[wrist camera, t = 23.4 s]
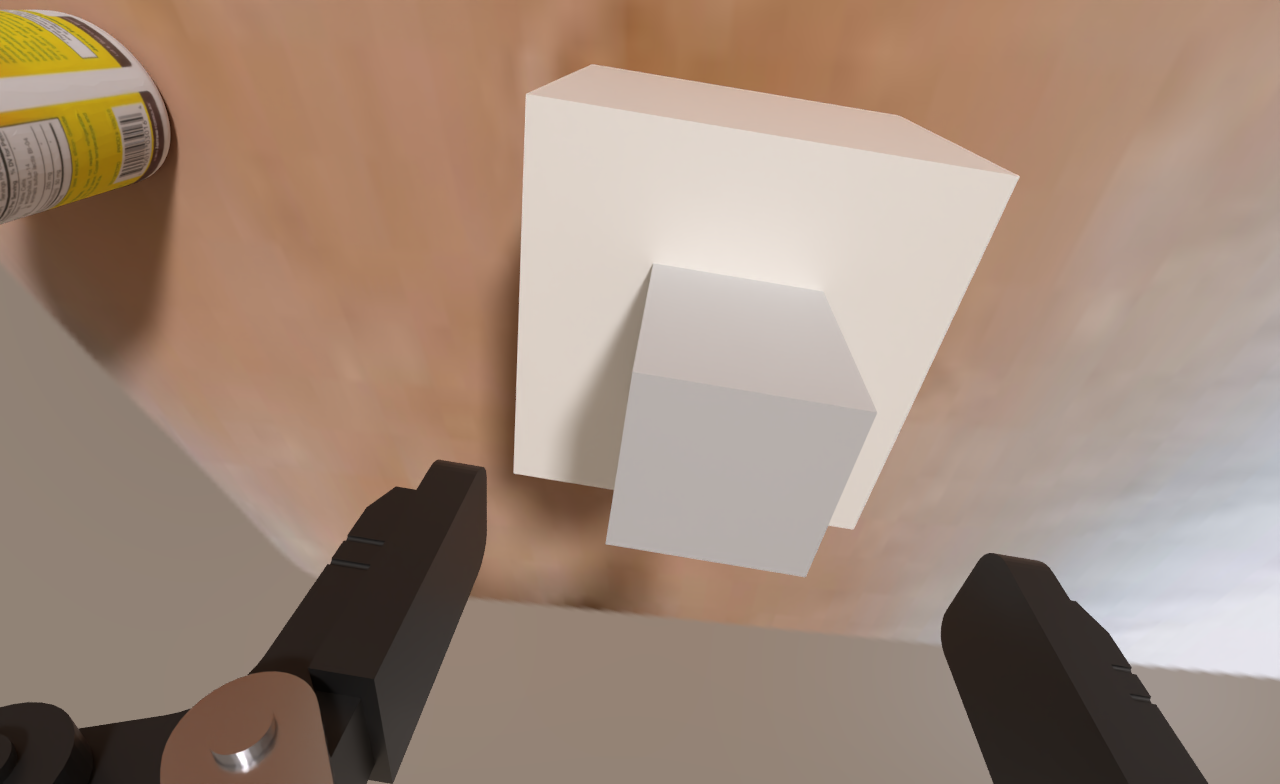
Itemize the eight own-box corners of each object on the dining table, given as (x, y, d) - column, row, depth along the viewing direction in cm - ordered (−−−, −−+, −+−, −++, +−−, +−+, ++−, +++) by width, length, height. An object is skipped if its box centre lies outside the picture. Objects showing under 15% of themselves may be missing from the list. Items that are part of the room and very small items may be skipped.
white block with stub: (898, 115, 20) (1189, 262, 8) (808, 377, 25) (901, 690, 13) (592, 64, 20) (432, 135, 8) (568, 337, 25) (454, 617, 13)
